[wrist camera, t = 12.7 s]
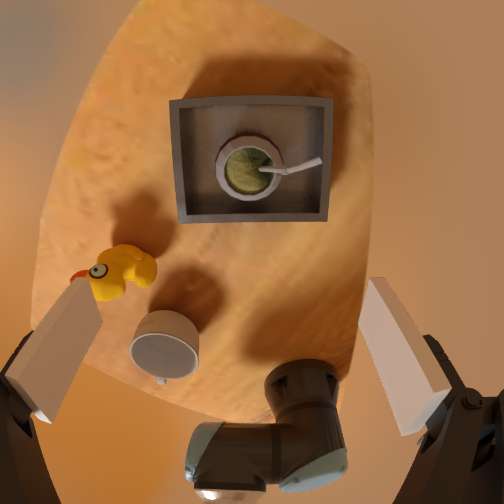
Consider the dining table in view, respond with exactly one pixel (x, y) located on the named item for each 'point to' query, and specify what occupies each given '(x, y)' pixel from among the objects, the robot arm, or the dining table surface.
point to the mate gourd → (253, 166)
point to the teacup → (166, 346)
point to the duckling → (119, 271)
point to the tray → (252, 121)
